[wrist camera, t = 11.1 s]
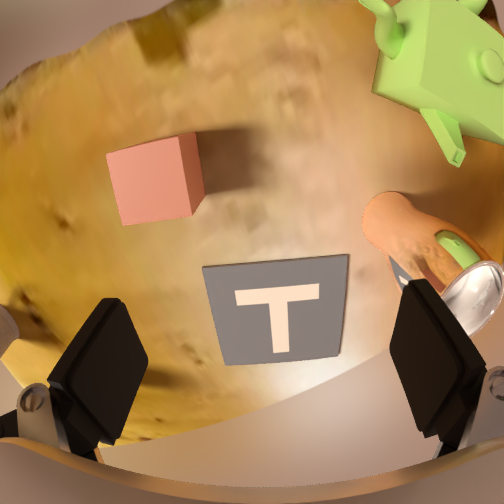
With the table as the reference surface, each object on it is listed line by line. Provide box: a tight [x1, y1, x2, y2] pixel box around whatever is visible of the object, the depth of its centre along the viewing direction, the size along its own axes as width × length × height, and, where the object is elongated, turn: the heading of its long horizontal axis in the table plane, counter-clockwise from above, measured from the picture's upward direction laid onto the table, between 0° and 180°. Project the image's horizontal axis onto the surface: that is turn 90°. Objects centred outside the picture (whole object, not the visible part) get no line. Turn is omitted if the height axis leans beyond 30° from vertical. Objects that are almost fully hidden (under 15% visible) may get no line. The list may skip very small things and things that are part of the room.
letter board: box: [202, 254, 348, 365], centre depth 32 cm, size 15×15×1 cm
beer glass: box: [362, 192, 504, 338], centre depth 20 cm, size 7×7×15 cm
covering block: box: [106, 132, 206, 226], centre depth 23 cm, size 6×6×6 cm
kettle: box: [358, 0, 504, 168], centre depth 15 cm, size 15×14×11 cm
